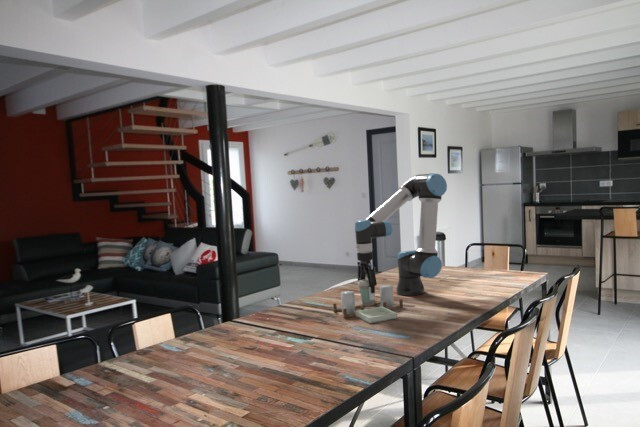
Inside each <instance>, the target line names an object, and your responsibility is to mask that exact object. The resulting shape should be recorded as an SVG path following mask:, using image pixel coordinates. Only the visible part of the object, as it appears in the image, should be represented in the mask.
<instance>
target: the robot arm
mask: <svg viewBox="0 0 640 427" xmlns="http://www.w3.org/2000/svg"><path fill="white" fill-rule="evenodd" d="M447 189H448V184H447V180H446V179H445V178H444V176H443V174H440V173H422V174H421V173H419V174H416V175H413V176H412V177H410V178H409V179H407V180H406V181H405V182H404V183H403V184H401V185H400V186H399V187H398V190H397V191H396V192H395V193H394V194H393V195H391V196H390V197H389V198H388V199H387V200H386V201H384V202H383V203H381V205H380V206H378V207H377V208H376V210H374V211H373V212H371V214H370V215H368V216H367V217H366V218H365V219H360V220H359V219H358V220H356V221H355V222H354V232H355V242H356V246H355V247H356V252H357V253H356V257H357V258H356V259H357V282H359V281H360V280H362V279H368V282H369V286H368V287H369V298H370V300H374V299H375V300H376V286H377V285H378V283H377V277H376V272H375V271H376V270H375V265H374V264H372V262H371V261H372V260H374V255H373V253H374V252H373V241H372V240H373V239H378V238H383V237H384V238H386V237H389V236H391V235H392V233H393V225H392V223H391V222H390V221H389V220H388V219H389V218H390V217H391V216H392V215H394V213H395V212H397V211H398V210H399V209H400V208H402V207H403V206H404V205H405V204H406V203H407V202H410V201H412V200H413V199H415V198H417V197H418V200H419V201H420V217H419V218H420V220H419V231H418V234H419V235H418V247H417V248H416V249H414V250H413V249H411V250H405V251H400V252H398V253H397V265H398V266H397V270H398V282H397V285H396V294H397V295H399V296H418V295H422V294H424V293H425V287H424V284H423V281H422V278H427V279H428V278H429V279H433V278H436V277H437V275H439V274H440V272H441V270H442V266H443V262H442V260H441V258H440V257H439V256H438V254H439V252H438V251H437V249H436V243H437V242H436V240H437V239H436V238H437V225H438V210H439V208H438V207H439V203H440V202H441V201H442V196H444V195H445V193H446V192H447ZM421 277H422V278H421ZM374 286H375V288H374Z"/></svg>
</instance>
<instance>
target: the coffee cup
mask: <svg viewBox="0 0 640 427" xmlns="http://www.w3.org/2000/svg"><path fill="white" fill-rule="evenodd" d="M368 286H369V282H368V278H365V279H362V280H360V281H358V287H359V293H360V297H361V302H362V304H361V305H364V306H367V307H371V306H372V305H374V304H375V303H376V298H375V299H374V300H370V298H369V287H368ZM374 288H375V289H376V286H374ZM374 306H375V305H374Z"/></svg>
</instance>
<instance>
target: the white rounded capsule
mask: <svg viewBox="0 0 640 427" xmlns="http://www.w3.org/2000/svg"><path fill="white" fill-rule="evenodd" d="M340 302H341V308H342V311H341V314H342V315H343V309H346V310H347V315H348V314H354V313H356V308H355V306H356V301H355V292H354V291H352V290H345V291H341V292H340Z"/></svg>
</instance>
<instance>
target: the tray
mask: <svg viewBox="0 0 640 427" xmlns="http://www.w3.org/2000/svg"><path fill="white" fill-rule="evenodd" d="M355 313H356V316H355V317H357V318H358V319H360V320H362V321H364V322H365V323H367V324H369V323H370V324H374V323H381V322H386V321H391V320H396V319H398V313H397V312H396V311H393V310H389V309H387V308H385V307H382V306H381V305H380V306H377V307H376V306H375V307H372V308H364V310H361V309H360V310H355Z"/></svg>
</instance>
